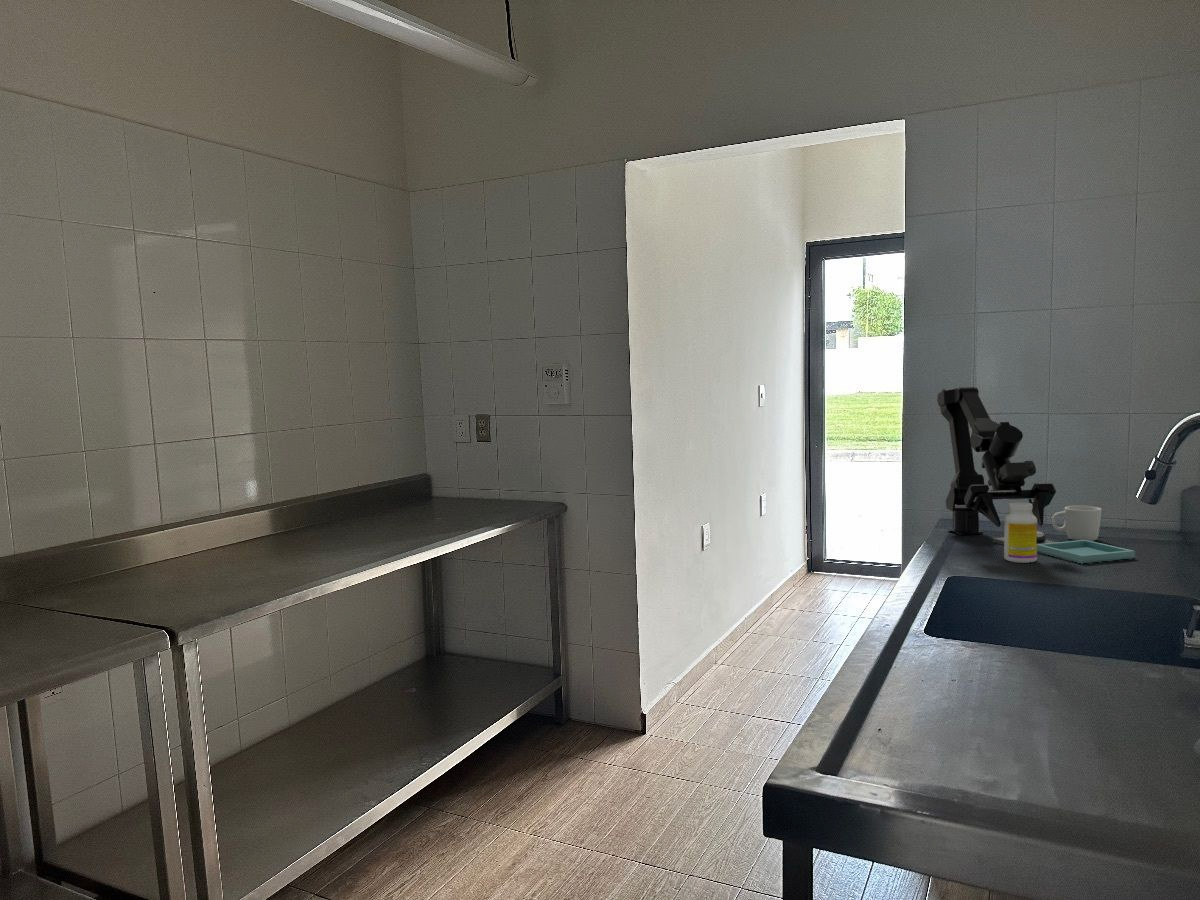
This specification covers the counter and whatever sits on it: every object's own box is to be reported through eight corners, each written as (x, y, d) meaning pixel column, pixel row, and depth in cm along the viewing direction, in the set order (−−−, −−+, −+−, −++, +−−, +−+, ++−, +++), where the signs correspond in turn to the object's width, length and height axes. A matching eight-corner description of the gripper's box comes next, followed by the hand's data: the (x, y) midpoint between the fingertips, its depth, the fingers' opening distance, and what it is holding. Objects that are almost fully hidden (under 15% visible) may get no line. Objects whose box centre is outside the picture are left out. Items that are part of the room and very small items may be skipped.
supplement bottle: (1042, 563, 187) (1043, 505, 186) (1012, 564, 187) (1012, 506, 186) (1028, 556, 194) (1028, 501, 193) (998, 557, 194) (999, 501, 193)
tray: (1034, 551, 198) (1034, 544, 198) (1084, 547, 202) (1084, 539, 202) (1081, 564, 185) (1082, 556, 185) (1134, 558, 188) (1135, 550, 188)
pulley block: (992, 542, 211) (992, 527, 211) (1027, 539, 213) (1027, 524, 213) (1027, 551, 199) (1028, 535, 199) (1063, 548, 202) (1064, 532, 201)
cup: (1055, 542, 209) (1055, 510, 208) (1048, 536, 216) (1048, 505, 215) (1105, 543, 205) (1105, 510, 205) (1096, 537, 213) (1096, 505, 212)
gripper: (968, 450, 194) (987, 504, 184) (1052, 447, 193) (1076, 502, 183) (956, 480, 203) (974, 534, 193) (1036, 478, 202) (1058, 532, 192)
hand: (1020, 525), depth 190 cm, fingers open, 9 cm apart
